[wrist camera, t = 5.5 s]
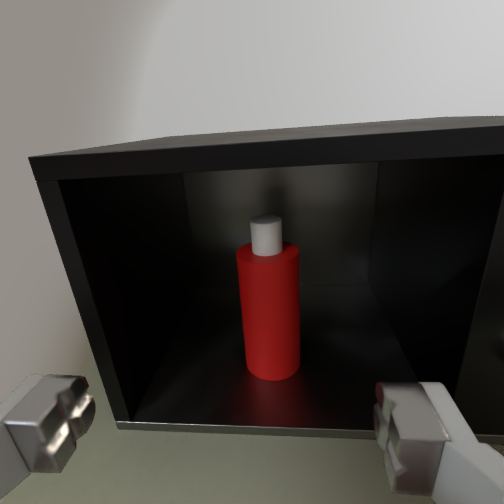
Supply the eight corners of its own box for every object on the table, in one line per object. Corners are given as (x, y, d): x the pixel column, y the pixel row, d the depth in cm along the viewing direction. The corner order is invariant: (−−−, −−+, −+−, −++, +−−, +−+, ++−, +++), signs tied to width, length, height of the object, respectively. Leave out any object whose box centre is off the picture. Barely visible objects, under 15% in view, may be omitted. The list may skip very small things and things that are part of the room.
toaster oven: (110, 442, 27) (11, 159, 18) (193, 288, 52) (169, 136, 43) (563, 462, 23) (730, 111, 14) (419, 285, 48) (445, 116, 39)
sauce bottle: (243, 380, 32) (228, 231, 25) (249, 343, 37) (237, 211, 31) (301, 381, 31) (300, 228, 25) (299, 343, 36) (297, 209, 30)
